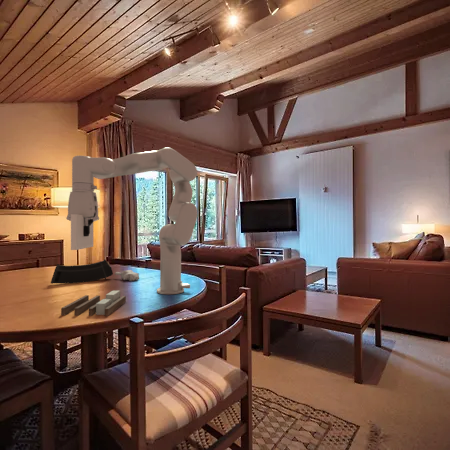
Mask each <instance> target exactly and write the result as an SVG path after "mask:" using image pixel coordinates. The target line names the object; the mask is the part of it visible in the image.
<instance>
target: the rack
mask: <svg viewBox="0 0 450 450" xmlns="http://www.w3.org/2000/svg"><path fill="white" fill-rule="evenodd" d="M89 297H90V296H89V295H87V294H86V295H84V296H82V297H79V298H78V299H76V300H74V301H71V302H70V303H68V304H66V305H64V306H63V307H61V308H60V315H61V316H66V315H67V314H70V313H71V312H73V311H74V312H73V313H74V316H75V317H76V316H80V315H82V314H83V313H84V312H86V311H88V316H89V317H92V316H94V315H96V303H98V302H99V301H101V295H95V296H93V297H91V298H90V299H89ZM104 299H106V297H104ZM126 300H127V296H126V295H122V296H120V298H119V299H118V300H116V301H115V302H114V303H112V304H111V305H109V306H108V307H107V308H105V315H104V316H105V317H109V316H110V315H112V314H113V313H114V312H115V311H116V310H118V309H119V308H120V307H121V306H123V305H124V304H125V303H126V302H127V301H126Z"/></svg>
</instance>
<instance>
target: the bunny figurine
mask: <svg viewBox="0 0 450 450" xmlns="http://www.w3.org/2000/svg"><path fill="white" fill-rule="evenodd" d="M114 275H117V276H120V277H121V279H122V280H123V281H129V282H134V281H138V280H139V279H140V274H139V273H138V272H134V271H133V270H132V269H127V270H122V272H119V271H115V273H114Z"/></svg>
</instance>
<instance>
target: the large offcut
mask: <svg viewBox="0 0 450 450" xmlns="http://www.w3.org/2000/svg"><path fill="white" fill-rule="evenodd" d="M105 298H106V299H111V304H112V303H114V302H115V301H116V300H118V299H119V298H121V290H111V291H110V292H108V293H106V294H105Z"/></svg>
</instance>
